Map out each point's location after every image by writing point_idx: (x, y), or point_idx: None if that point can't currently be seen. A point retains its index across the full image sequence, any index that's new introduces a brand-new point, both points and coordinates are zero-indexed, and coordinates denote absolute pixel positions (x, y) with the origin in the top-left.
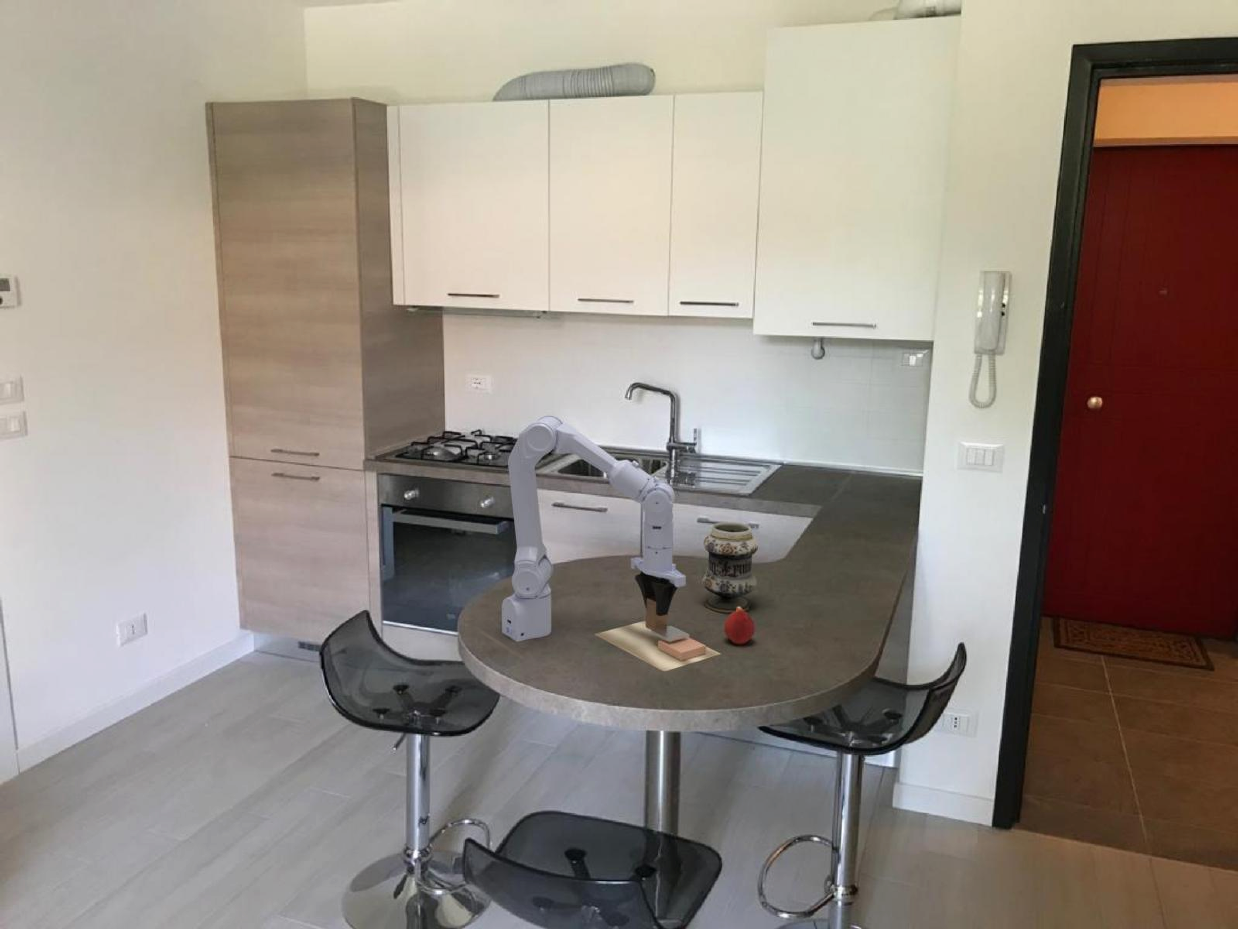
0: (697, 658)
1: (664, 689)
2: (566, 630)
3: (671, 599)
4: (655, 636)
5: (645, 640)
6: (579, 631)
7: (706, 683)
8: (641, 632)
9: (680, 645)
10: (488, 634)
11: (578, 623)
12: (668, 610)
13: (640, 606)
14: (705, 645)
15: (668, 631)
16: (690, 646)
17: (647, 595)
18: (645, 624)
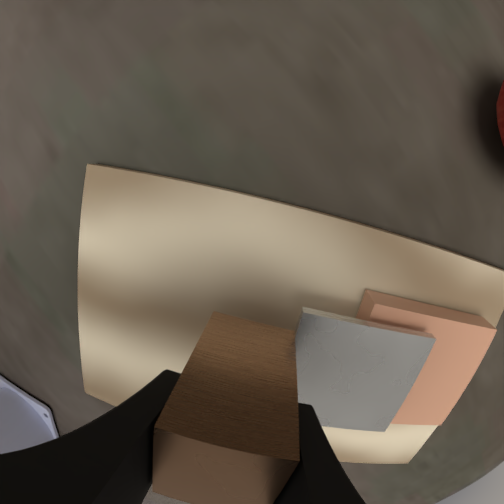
0: None
1: (426, 478)
2: (26, 370)
3: (351, 488)
4: (229, 304)
5: None
6: (40, 362)
7: (499, 413)
8: (157, 303)
9: (419, 394)
10: None
11: (3, 317)
12: (319, 422)
13: (10, 77)
14: (495, 331)
15: (339, 381)
16: (453, 375)
17: (142, 496)
18: (109, 219)
